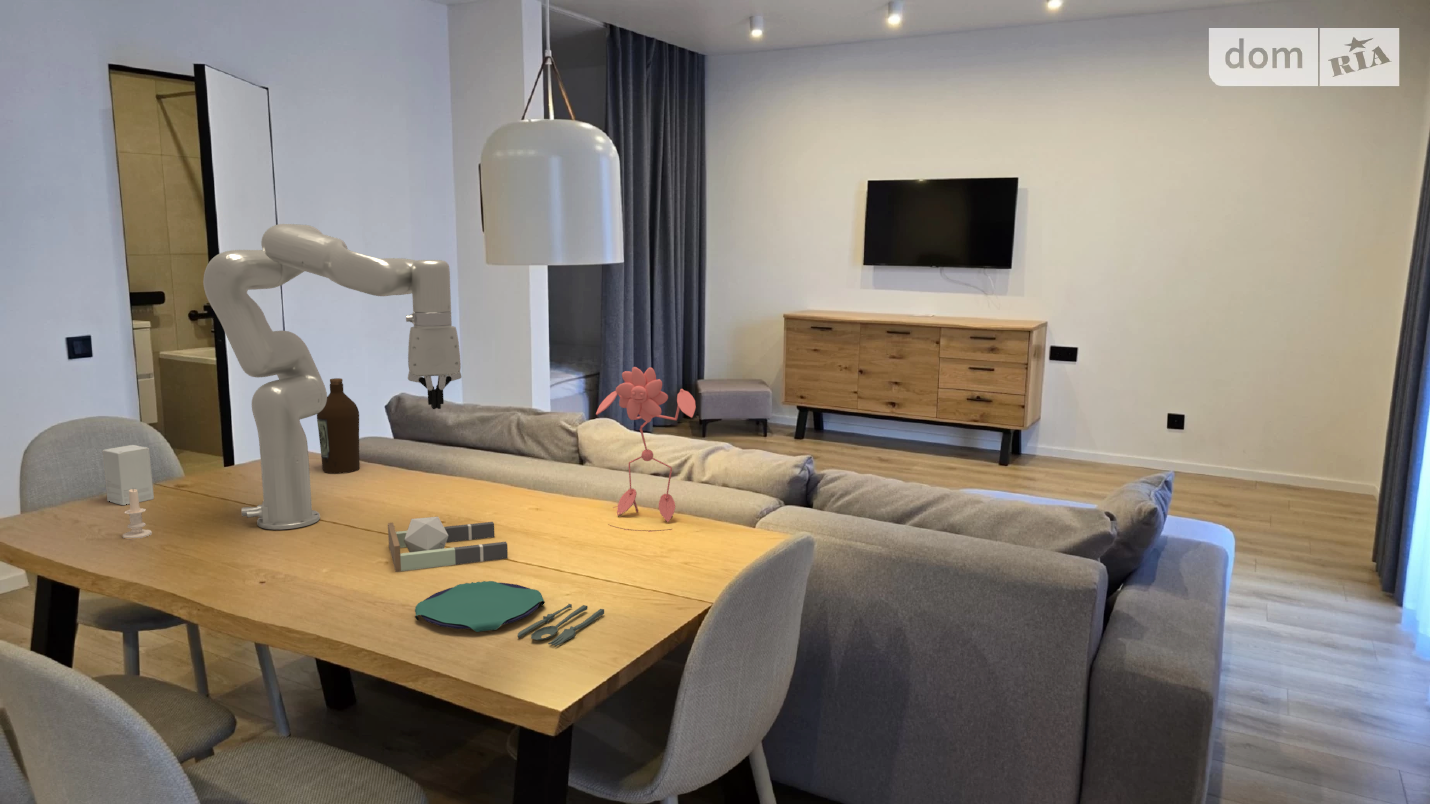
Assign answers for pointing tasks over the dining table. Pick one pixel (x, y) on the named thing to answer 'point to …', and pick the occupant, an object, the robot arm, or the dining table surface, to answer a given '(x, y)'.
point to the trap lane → (448, 554)
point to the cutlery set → (494, 609)
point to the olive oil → (339, 431)
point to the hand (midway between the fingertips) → (436, 407)
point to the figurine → (644, 400)
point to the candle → (135, 518)
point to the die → (425, 534)
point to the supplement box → (127, 473)
